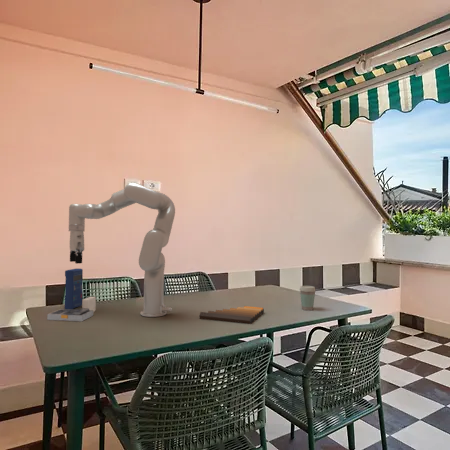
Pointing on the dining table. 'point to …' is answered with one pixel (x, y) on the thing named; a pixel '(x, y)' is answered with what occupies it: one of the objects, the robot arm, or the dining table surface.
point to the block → (89, 303)
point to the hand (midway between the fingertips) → (75, 262)
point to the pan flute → (234, 314)
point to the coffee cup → (307, 297)
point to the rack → (70, 314)
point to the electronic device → (73, 288)
